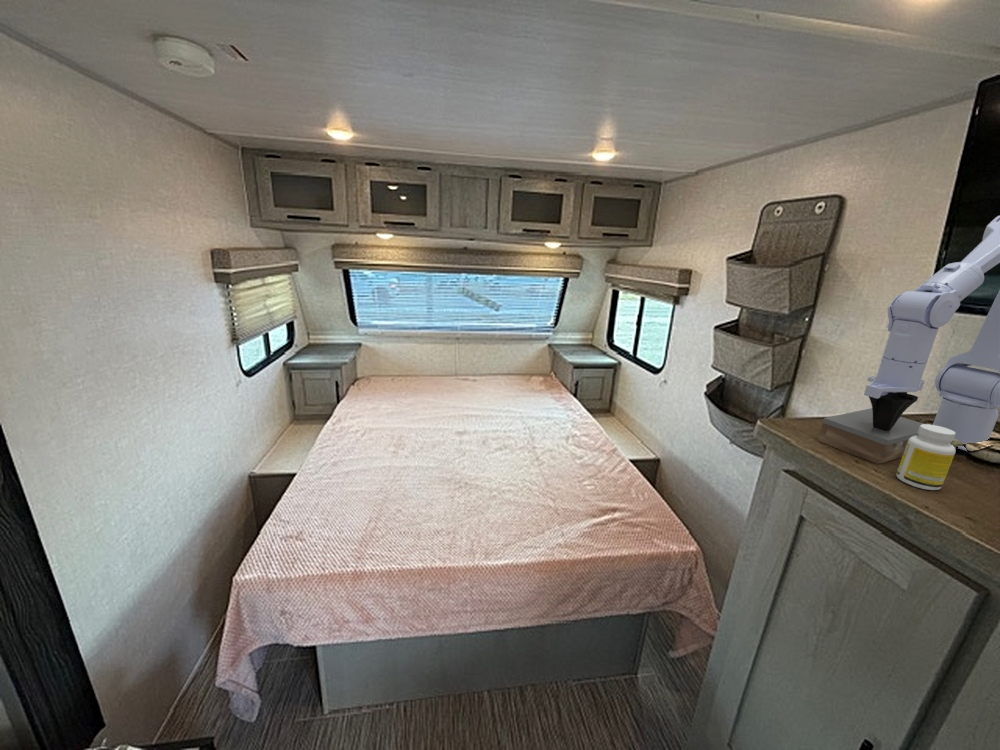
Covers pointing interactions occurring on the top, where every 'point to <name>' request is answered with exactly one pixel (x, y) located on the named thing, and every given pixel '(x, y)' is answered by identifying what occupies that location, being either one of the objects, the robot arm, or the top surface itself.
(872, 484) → the top surface
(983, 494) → the top surface
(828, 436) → the box
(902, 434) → the lid
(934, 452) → the supplement bottle
